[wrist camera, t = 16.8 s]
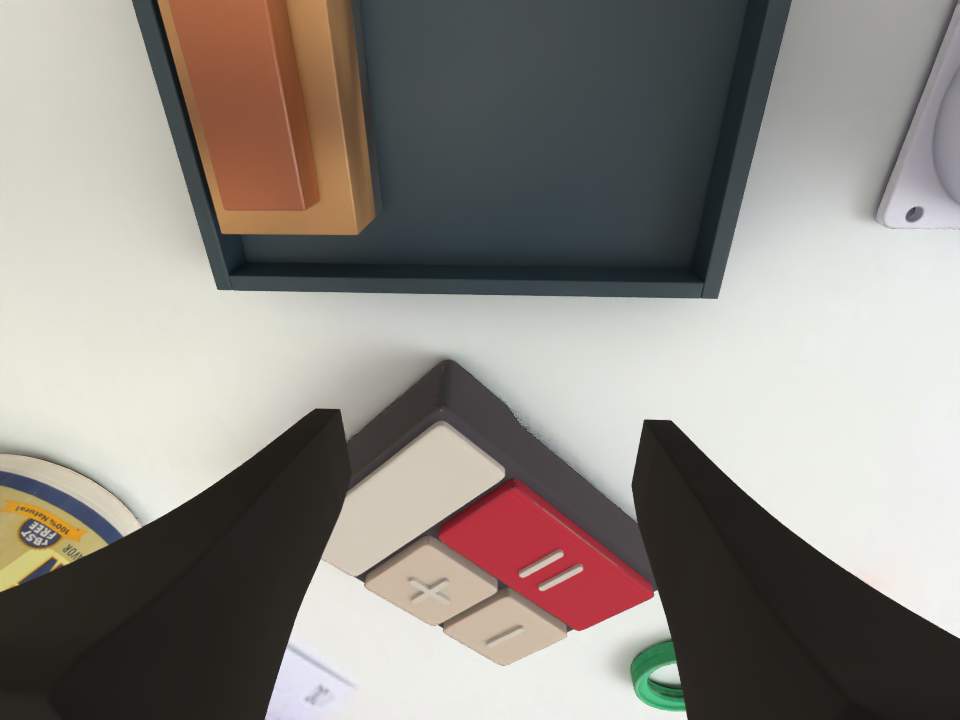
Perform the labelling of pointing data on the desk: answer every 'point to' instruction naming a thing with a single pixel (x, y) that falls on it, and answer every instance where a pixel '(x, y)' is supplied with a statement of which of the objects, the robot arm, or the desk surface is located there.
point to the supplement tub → (52, 518)
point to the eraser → (279, 112)
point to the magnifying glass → (646, 688)
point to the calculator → (482, 524)
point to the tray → (528, 149)
